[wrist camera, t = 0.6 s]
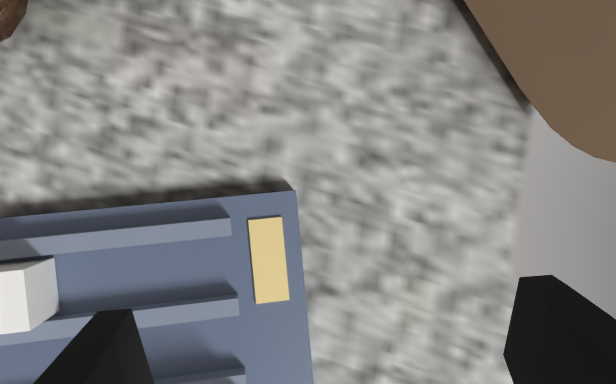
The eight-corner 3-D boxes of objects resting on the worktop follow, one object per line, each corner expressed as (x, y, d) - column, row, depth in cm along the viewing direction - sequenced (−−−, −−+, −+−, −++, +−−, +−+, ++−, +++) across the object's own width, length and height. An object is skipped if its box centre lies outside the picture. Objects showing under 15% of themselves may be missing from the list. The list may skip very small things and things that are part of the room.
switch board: (320, 473, 31) (326, 495, 29) (-58, 539, 28) (-83, 568, 26) (294, 190, 31) (297, 190, 29) (-93, 226, 28) (-122, 230, 26)
